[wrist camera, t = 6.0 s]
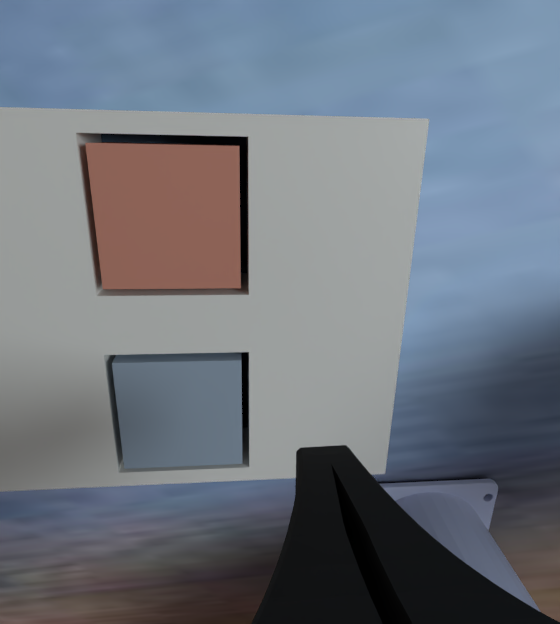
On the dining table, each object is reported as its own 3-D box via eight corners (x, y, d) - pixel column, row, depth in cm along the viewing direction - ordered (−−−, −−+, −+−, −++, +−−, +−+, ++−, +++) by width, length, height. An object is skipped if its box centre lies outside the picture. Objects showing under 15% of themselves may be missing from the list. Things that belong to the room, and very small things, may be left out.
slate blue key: (241, 425, 23) (242, 463, 20) (137, 428, 22) (124, 468, 20) (240, 331, 21) (241, 360, 18) (128, 333, 20) (111, 363, 18)
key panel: (367, 434, 24) (385, 474, 21) (2, 448, 22) (-31, 492, 19) (400, 121, 19) (429, 119, 16) (-76, 109, 17) (-137, 103, 14)
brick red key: (240, 267, 20) (240, 288, 17) (121, 268, 19) (102, 289, 17) (238, 144, 18) (239, 145, 15) (108, 142, 18) (85, 142, 15)
